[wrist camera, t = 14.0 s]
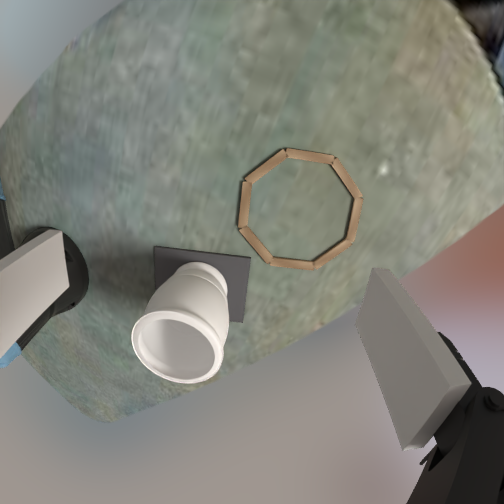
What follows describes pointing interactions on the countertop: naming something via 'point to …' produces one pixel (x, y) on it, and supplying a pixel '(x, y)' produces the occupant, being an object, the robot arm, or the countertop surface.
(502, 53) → the countertop surface
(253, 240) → the cork ring
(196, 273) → the jar
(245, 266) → the mat
